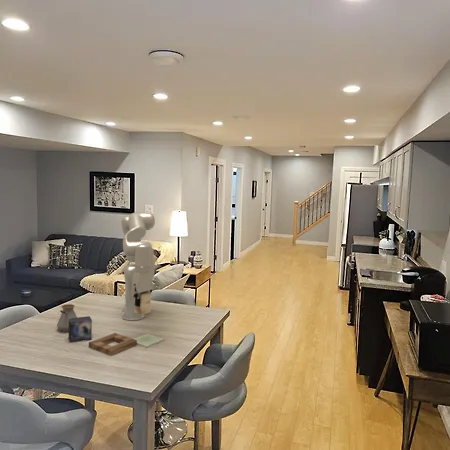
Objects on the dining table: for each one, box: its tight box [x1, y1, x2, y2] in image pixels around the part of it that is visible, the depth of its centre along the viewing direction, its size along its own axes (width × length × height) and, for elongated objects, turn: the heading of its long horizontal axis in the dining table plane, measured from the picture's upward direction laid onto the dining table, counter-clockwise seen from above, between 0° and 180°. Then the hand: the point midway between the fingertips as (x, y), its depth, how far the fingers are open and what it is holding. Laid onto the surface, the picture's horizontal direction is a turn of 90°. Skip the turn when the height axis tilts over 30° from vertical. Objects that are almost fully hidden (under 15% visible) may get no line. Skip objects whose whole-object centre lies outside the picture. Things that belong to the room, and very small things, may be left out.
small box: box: [67, 315, 93, 343], centre depth 207 cm, size 11×6×10 cm, turn 118°
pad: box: [134, 333, 165, 348], centre depth 208 cm, size 12×12×1 cm
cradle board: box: [88, 332, 138, 357], centre depth 200 cm, size 16×16×2 cm
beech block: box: [134, 292, 151, 315], centre depth 205 cm, size 6×6×10 cm
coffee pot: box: [56, 303, 78, 333], centre depth 215 cm, size 21×12×15 cm, turn 7°
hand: (142, 304), depth 205 cm, fingers closed on beech block, 5 cm apart
